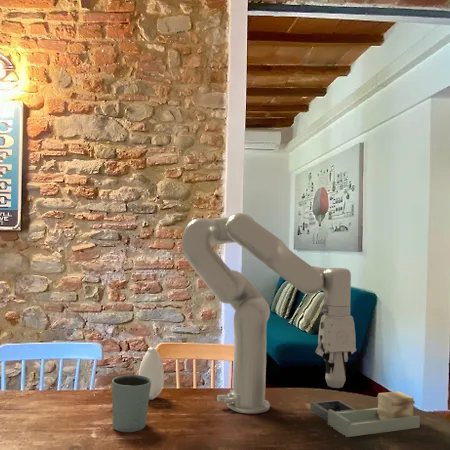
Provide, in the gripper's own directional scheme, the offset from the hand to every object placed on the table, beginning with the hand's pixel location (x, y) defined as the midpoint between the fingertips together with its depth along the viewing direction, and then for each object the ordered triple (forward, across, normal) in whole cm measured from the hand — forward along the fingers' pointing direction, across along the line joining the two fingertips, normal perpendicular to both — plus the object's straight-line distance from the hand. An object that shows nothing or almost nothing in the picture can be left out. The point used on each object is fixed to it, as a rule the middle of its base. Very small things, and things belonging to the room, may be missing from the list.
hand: (335, 374), depth 150 cm
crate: (+12, +13, -10) cm, 20 cm away
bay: (+12, +6, -10) cm, 17 cm away
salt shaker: (+3, 0, 0) cm, 3 cm away
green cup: (+11, -57, +8) cm, 59 cm away
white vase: (+11, -47, +28) cm, 56 cm away
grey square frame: (+12, 0, 0) cm, 12 cm away
